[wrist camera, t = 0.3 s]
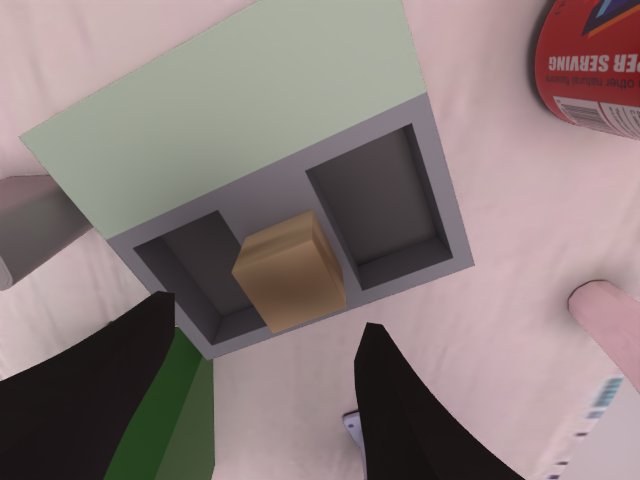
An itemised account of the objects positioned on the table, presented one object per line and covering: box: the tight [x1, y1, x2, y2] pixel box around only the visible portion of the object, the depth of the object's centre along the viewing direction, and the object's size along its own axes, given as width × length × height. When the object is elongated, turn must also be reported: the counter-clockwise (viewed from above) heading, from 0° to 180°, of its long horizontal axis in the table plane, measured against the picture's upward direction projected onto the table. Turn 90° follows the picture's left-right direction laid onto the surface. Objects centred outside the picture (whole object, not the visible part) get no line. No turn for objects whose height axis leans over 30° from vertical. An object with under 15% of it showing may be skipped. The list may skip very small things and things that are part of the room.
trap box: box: [18, 0, 475, 361], centre depth 19 cm, size 16×18×3 cm
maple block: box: [231, 209, 347, 333], centre depth 17 cm, size 4×4×4 cm
